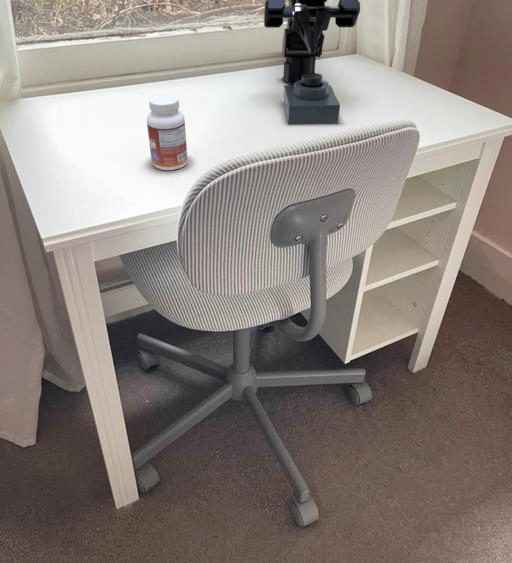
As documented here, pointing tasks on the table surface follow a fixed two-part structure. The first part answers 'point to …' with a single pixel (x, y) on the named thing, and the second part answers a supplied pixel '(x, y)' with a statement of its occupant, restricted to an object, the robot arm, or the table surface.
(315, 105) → the push button box
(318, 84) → the black round button
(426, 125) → the table surface
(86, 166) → the table surface
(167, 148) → the pill bottle
